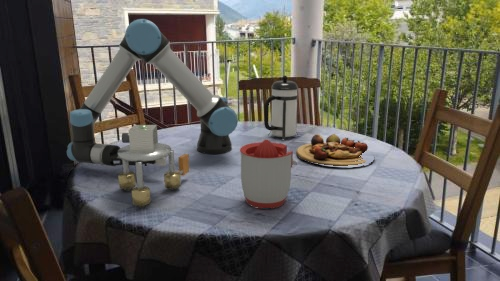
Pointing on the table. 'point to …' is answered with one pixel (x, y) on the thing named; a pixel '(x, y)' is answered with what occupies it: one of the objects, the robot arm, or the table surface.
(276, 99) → the coffee press
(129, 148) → the tribrach stand
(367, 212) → the table surface
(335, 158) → the wooden plate with food
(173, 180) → the lever
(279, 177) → the citrus juicer
